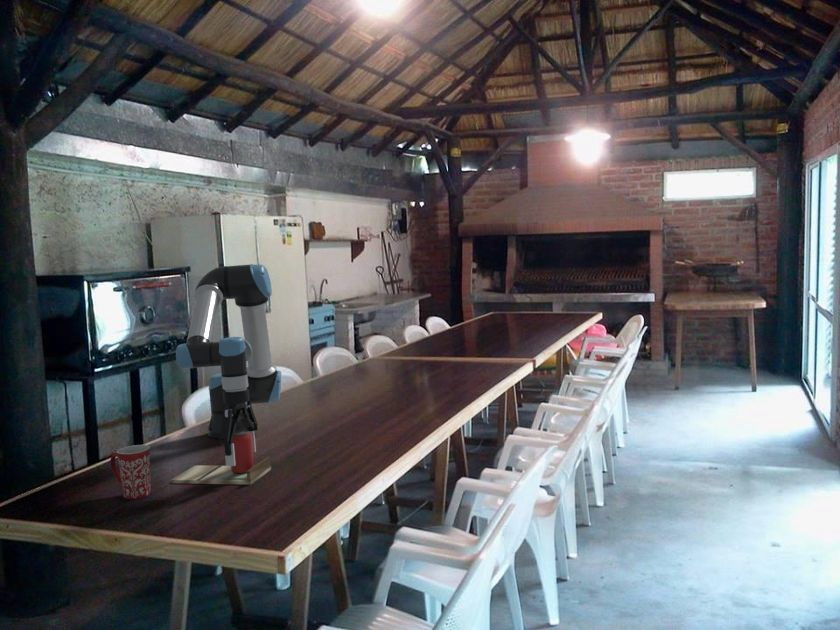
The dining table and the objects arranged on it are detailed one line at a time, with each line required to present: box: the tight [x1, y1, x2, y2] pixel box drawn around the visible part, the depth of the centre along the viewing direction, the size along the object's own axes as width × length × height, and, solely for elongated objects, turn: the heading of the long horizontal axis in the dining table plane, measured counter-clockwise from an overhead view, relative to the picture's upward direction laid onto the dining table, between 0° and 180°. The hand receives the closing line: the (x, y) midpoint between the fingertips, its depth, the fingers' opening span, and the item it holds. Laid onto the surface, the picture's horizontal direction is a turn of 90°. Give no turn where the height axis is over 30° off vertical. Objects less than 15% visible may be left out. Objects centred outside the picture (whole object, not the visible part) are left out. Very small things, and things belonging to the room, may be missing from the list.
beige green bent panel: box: [170, 456, 272, 486], centre depth 222 cm, size 26×14×4 cm, turn 77°
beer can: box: [231, 430, 254, 474], centre depth 220 cm, size 7×7×12 cm
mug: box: [109, 444, 152, 500], centre depth 209 cm, size 13×9×14 cm
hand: (241, 458), depth 220 cm, fingers open, 13 cm apart
